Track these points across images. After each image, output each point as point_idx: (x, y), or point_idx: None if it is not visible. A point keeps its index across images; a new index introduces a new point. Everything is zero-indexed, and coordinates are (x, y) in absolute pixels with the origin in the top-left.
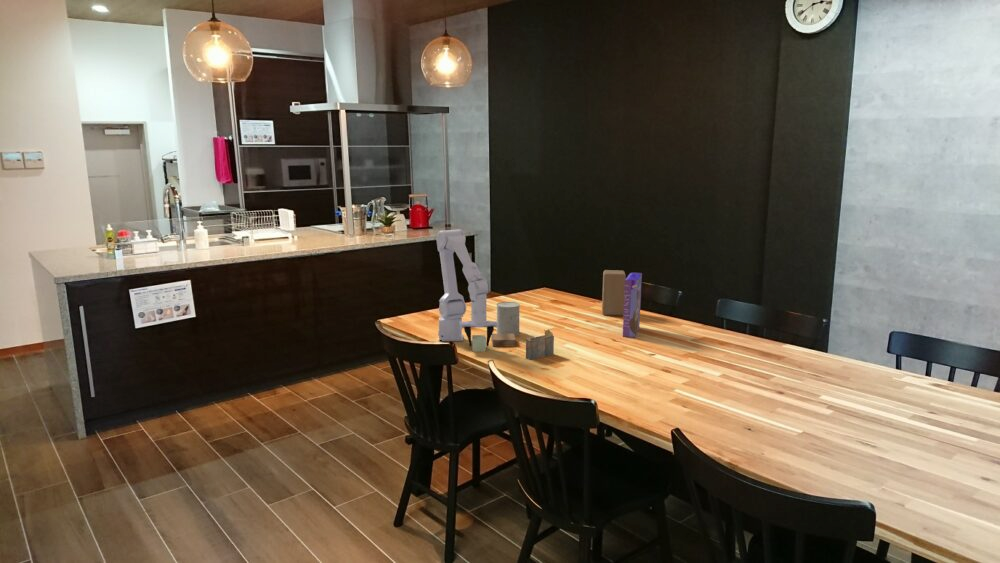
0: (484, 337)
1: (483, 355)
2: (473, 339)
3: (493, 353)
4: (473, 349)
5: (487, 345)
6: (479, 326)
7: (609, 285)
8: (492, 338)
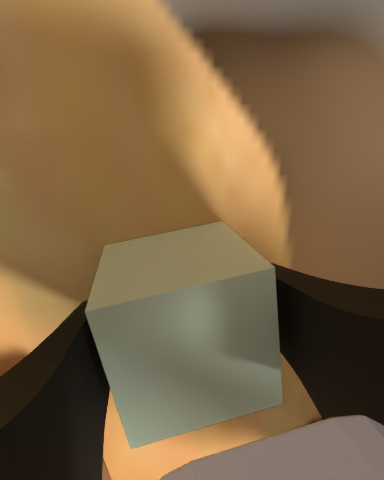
0: (118, 357)
1: (98, 99)
2: (259, 266)
3: (6, 182)
4: (220, 226)
5: None
6: (261, 449)
7: None
8: None
